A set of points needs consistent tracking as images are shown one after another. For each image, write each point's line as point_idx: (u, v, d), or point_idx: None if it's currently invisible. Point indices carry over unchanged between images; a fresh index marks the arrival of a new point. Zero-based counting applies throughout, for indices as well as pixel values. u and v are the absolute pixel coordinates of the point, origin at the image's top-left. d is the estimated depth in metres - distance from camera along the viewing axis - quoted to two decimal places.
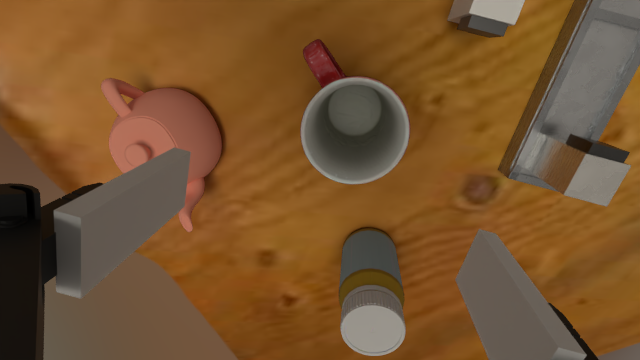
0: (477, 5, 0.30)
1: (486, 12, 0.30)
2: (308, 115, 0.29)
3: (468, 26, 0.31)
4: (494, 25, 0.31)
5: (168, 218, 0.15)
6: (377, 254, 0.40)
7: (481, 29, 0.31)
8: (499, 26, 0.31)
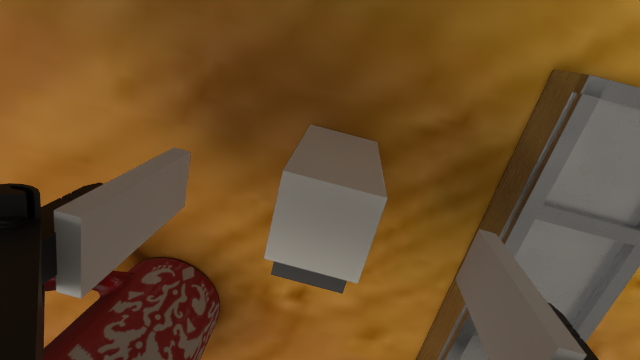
0: (277, 247, 0.14)
1: (297, 260, 0.14)
2: None
3: None
4: (322, 275, 0.15)
5: (168, 218, 0.15)
6: None
7: (298, 280, 0.15)
8: (331, 277, 0.15)
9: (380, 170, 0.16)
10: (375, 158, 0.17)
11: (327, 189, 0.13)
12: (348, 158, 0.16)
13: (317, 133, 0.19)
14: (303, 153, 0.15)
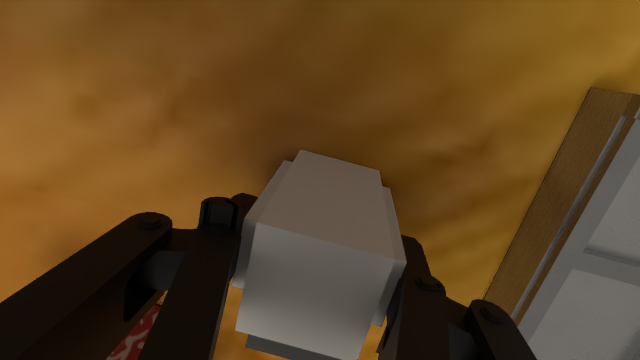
0: (252, 317, 0.11)
1: (278, 333, 0.11)
2: None
3: None
4: None
5: None
6: None
7: (280, 354, 0.12)
8: None
9: (384, 213, 0.13)
10: (377, 194, 0.14)
11: (315, 247, 0.10)
12: (344, 197, 0.13)
13: (308, 161, 0.16)
14: (287, 192, 0.12)
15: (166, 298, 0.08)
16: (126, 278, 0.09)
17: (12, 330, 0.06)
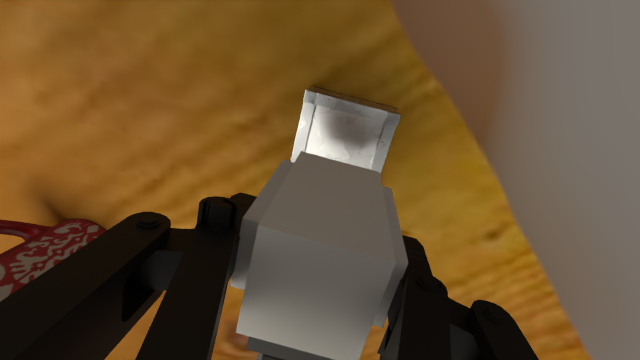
0: (253, 319, 0.11)
1: (279, 335, 0.11)
2: None
3: None
4: None
5: None
6: None
7: (280, 356, 0.12)
8: None
9: (385, 215, 0.13)
10: (378, 196, 0.14)
11: (316, 250, 0.10)
12: (345, 199, 0.13)
13: (308, 163, 0.16)
14: (288, 194, 0.12)
15: (164, 298, 0.08)
16: (124, 278, 0.09)
17: (11, 329, 0.06)
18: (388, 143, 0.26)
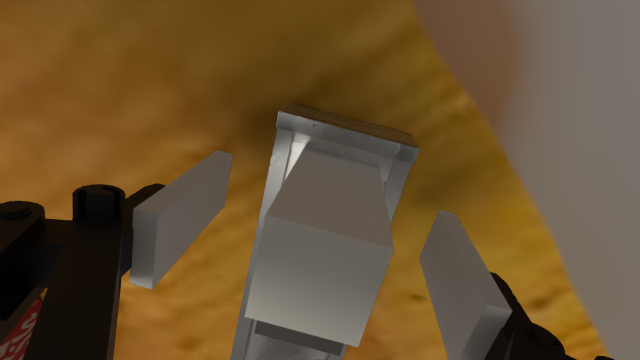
0: (260, 304, 0.12)
1: (285, 319, 0.12)
2: None
3: (257, 329, 0.13)
4: None
5: (213, 216, 0.16)
6: None
7: (286, 339, 0.13)
8: None
9: (384, 207, 0.13)
10: (377, 189, 0.15)
11: (320, 237, 0.11)
12: (346, 192, 0.14)
13: (311, 159, 0.17)
14: (293, 187, 0.13)
15: (44, 303, 0.07)
16: None
17: None
18: (400, 188, 0.18)
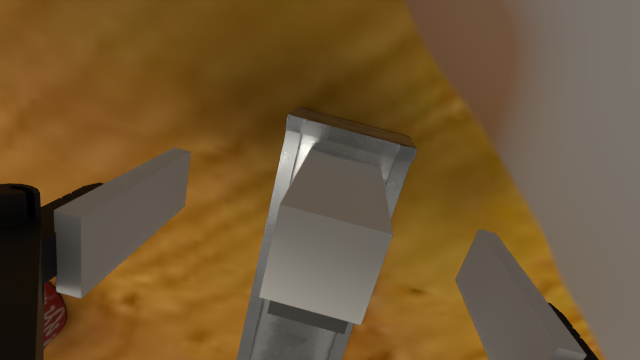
0: (274, 285, 0.13)
1: (295, 299, 0.13)
2: None
3: None
4: (322, 315, 0.14)
5: (168, 218, 0.15)
6: None
7: (296, 319, 0.14)
8: (332, 317, 0.14)
9: (384, 200, 0.15)
10: (378, 185, 0.16)
11: (327, 224, 0.12)
12: (350, 187, 0.15)
13: (318, 158, 0.18)
14: (302, 182, 0.15)
15: None
16: None
17: None
18: (399, 186, 0.19)
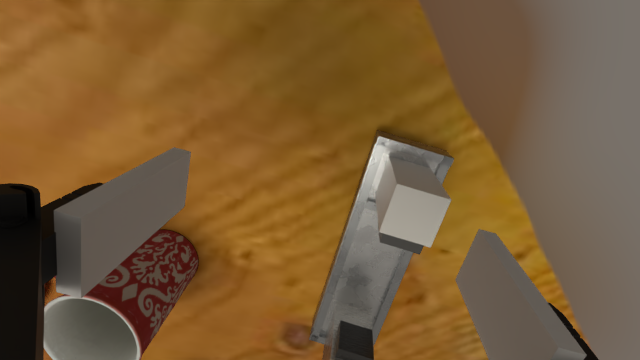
0: (388, 225, 0.26)
1: (398, 233, 0.26)
2: None
3: None
4: (409, 243, 0.27)
5: (168, 218, 0.15)
6: None
7: (395, 245, 0.27)
8: (414, 244, 0.27)
9: (441, 185, 0.28)
10: (434, 178, 0.30)
11: (419, 194, 0.25)
12: (421, 178, 0.28)
13: (396, 162, 0.31)
14: (398, 174, 0.28)
15: None
16: None
17: None
18: (442, 180, 0.32)
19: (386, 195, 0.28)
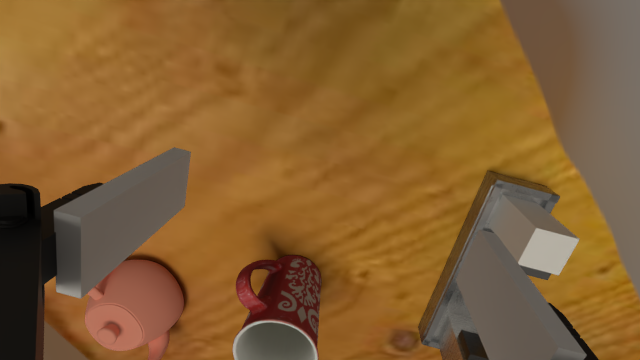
0: (525, 259, 0.33)
1: (533, 264, 0.33)
2: (238, 340, 0.37)
3: None
4: (539, 271, 0.34)
5: (168, 218, 0.15)
6: None
7: (527, 274, 0.34)
8: (544, 273, 0.34)
9: (560, 223, 0.35)
10: (550, 215, 0.36)
11: (553, 235, 0.32)
12: (543, 217, 0.35)
13: (513, 201, 0.38)
14: (528, 216, 0.34)
15: None
16: None
17: None
18: None
19: (517, 233, 0.35)
